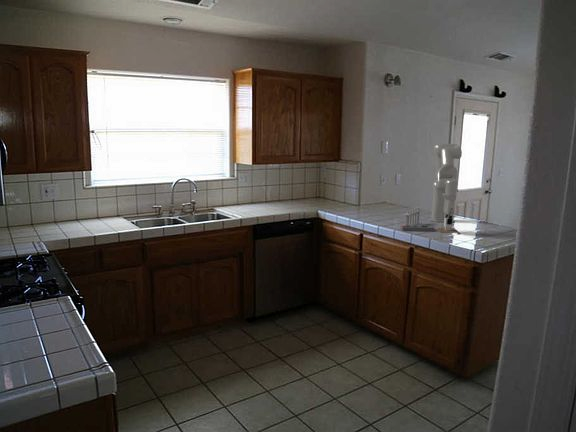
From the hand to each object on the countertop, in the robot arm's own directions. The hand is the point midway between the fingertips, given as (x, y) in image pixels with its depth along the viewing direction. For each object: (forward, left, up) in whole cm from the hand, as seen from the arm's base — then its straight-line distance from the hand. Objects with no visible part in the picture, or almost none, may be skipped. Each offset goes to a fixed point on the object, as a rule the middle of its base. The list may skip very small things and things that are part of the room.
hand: (448, 223), depth 307 cm
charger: (0, 0, -5) cm, 5 cm away
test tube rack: (-15, -21, -7) cm, 27 cm away
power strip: (0, -21, -6) cm, 22 cm away
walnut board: (0, 0, -6) cm, 6 cm away
